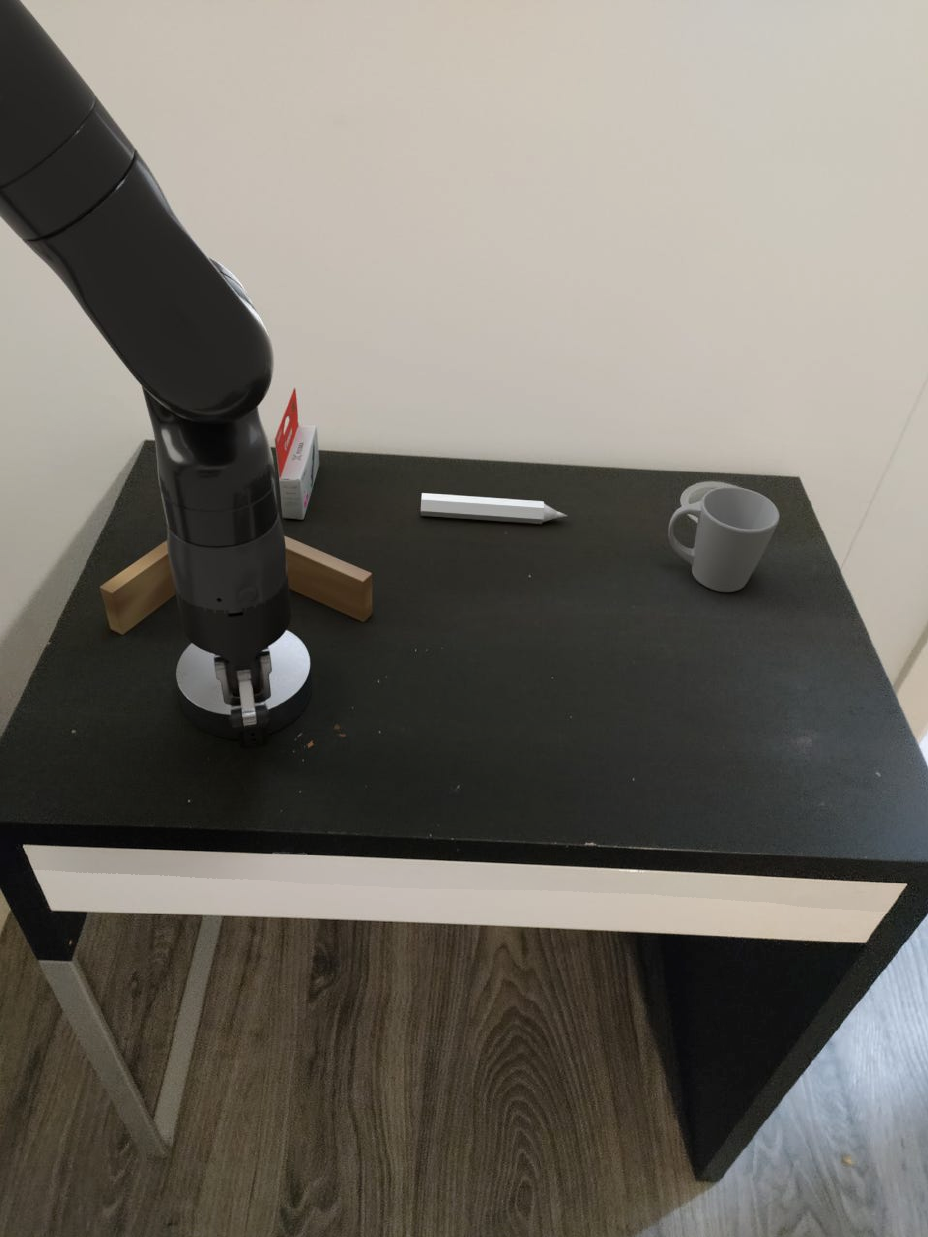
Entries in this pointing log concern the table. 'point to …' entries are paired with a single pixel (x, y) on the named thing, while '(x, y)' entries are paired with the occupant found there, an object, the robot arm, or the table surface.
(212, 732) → the white-topped round disc
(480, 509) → the white pencil
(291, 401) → the ink box
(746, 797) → the table surface
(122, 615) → the corner fence
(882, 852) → the table surface
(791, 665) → the table surface
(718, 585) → the cup
